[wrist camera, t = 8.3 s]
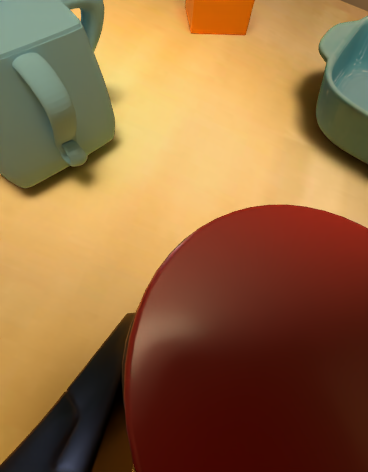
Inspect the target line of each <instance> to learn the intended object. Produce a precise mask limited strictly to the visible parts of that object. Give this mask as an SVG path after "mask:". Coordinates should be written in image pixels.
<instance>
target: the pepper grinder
mask: <svg viewBox="0 0 368 472" xmlns="http://www.w3.org/2000/svg"><path fill="white" fill-rule="evenodd" d="M122 392H123V403H124V409H125V419H126V430H127V435H128V440H129V445H130V450H131V455H132V461H133V465H134V468H135V471H136V472H368V229H367V228H366V227H364V226H362V225H360V224H358V223H356V222H353V221H351V220H349V219H346V218H344V217H342V216H339V215H335V214H332V213H329V212H326V211H323V210H318V209H314V208H309V207H303V206H294V205H264V206H256V207H250V208H246V209H242V210H238V211H234V212H232V213H229V214H227V215H224V216H222V217H219V218H217V219H214V220H213V221H211V222H209V223H207V224H206V225H204V226H202V227H200V228H199V229H197V230H196V231H195V232H193V233H192V234H191V235H189V236H188V237H187V238H185V239H184V240H183V241H182V242H181V243H180V244H179V245H178V246H177V247H176V248H175V249H174V250H173V251H172V252H171V253H170V254H169V255H168V257H167V258H166V259H165V261H164V262H163V263H162V264H161V266H160V267H159V268H158V270H157V271H156V273H155V275H154V276H153V278H152V280H151V282H150V283H149V285H148V287H147V288H146V290H145V293H144V295H143V297H142V300H141V302H140V304H139V306H138V308H137V310H136V313H135V315H134V317H133V320H132V322H131V325H130V328H129V332H128V335H127V339H126V342H125V348H124V355H123V361H122Z"/></svg>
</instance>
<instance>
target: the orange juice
mask: <svg viewBox="0 0 368 472" xmlns="http://www.w3.org/2000/svg"><path fill="white" fill-rule="evenodd" d="M254 1H255V0H186V5H185V8H186V13H187V17H188V22H189V27H190V31H191V33H200V34H236V35H246V31H247V27H248V23H249V20H250V16H251V12H252V8H253V4H254Z"/></svg>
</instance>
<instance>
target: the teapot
mask: <svg viewBox="0 0 368 472" xmlns="http://www.w3.org/2000/svg"><path fill="white" fill-rule="evenodd" d="M74 8H80V10H81V21H80V20H79V19H78V18H77V17H76V16H75V15H74V14H73V13H72V11H71V10H70V9H74ZM103 20H104V4H103V0H0V174H1V175H2V176H4V177H5V178H6V179H7V180H9V181H10V182H12V183H14V184H16V185H17V186H19V187H22V188H29V187H32V186H34V185H36V184H38V183H40V182H42V181H44V180H45V179H47V178H49V177H51V176H53V175H54V174H56V173H58V172H60V171H62V170H63V169H65V168H67V167H69V166H73V167H77V166H81V165H83V164H84V163H85V162H86V160H87V158H88V157H87V155H89V154H90V153H92V152H94V151H95V150H97V149H98V148H100V147H102V146H103V145H105V144H106V143H108V142H109V141H110V140H112V139H113V137H114V132H115V118H114V113H113V109H112V105H111V101H110V98H109V94H108V91H107V88H106V85H105V82H104V79H103V76H102V73H101V70H100V68H99V65H98V62H97V60H96V57H95V55H94V50H95V48H96V46H97V43H98V40H99V38H100V34H101V31H102V26H103Z"/></svg>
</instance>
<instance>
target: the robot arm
mask: <svg viewBox="0 0 368 472" xmlns="http://www.w3.org/2000/svg"><path fill="white" fill-rule="evenodd" d="M134 315H135V313H128V314H126V315H125V317H124V318H123V319H122V320H121V322H120V323H119V324H118V326H117V327H116V328H115V329H114V331H113V332H112V333H111V334H110V336H109V337H108V338H107V339H106V341H105V342H104V343H103V344H102V346H101V347H100V348H99V349H98V351H97V352H96V353H95V355H94V356H93V357H92V358H91V360H90V361H89V362H88V363H87V365H86V366H85V367H84V368H83V370H82V371H81V372H80V373H79V375H78V376H77V377H76V378H75V380H74V381H73V382H72V384H71V385H70V386H69V387H68V389H67V391H66V392H64V393H63V395H62V396H61V397H60V399H59V400H58V401H57V402H56V404H55V405H54V406H53V407H52V408H51V410H50V411H49V412H48V413H47V414H46V416H45V417H44V418H43V419H42V420H41V422H40V423H39V424H38V425H37V426H36V427H35V428H34V429H33V430H32V432H31V433H30V434H29V435H28V436H27V437H26V438H25V439H24V440H23V441H22V443H21V444H20V445H19V446H18V447H17V448H16V449H15V450H14V451H13V452H12V453H11V454H10V455H9V456H8V458H7V459H6V460H5V461H4V462H3V463H2V464H1V465H0V472H132V467H133V461H132V455H131V450H130V445H129V440H128V435H127V430H126V419H125V409H124V403H123V392H122V361H123V355H124V348H125V342H126V339H127V335H128V332H129V328H130V325H131V322H132V320H133V317H134Z"/></svg>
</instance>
